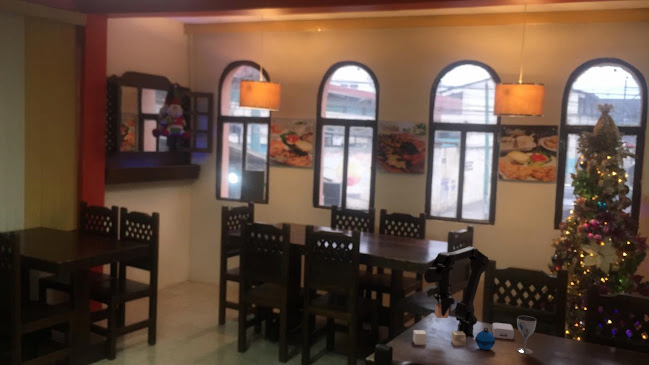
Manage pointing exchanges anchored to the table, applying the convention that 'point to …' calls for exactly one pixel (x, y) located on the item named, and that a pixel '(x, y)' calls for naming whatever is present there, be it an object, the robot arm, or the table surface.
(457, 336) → the birch block
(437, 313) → the terracotta block
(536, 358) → the table surface
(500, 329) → the charger
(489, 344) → the ornament
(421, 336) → the grey block
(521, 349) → the wine glass
